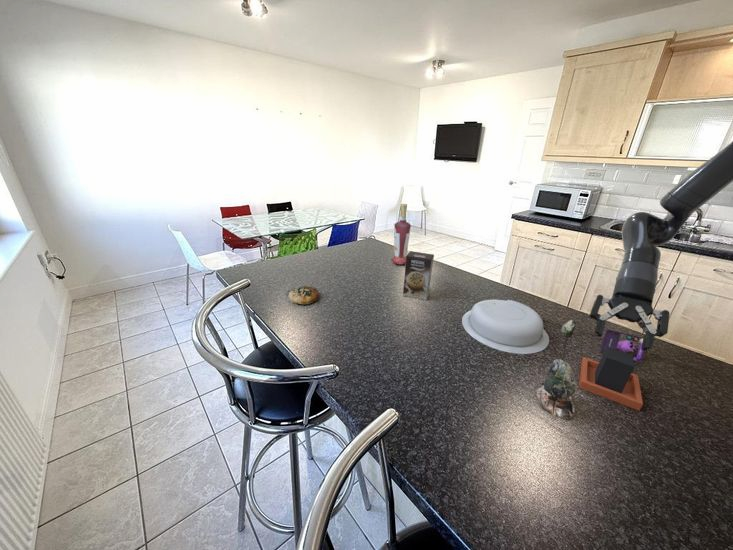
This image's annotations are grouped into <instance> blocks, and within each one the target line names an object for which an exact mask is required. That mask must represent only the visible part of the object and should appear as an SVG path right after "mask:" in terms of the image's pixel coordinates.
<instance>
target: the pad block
mask: <svg viewBox="0 0 733 550" xmlns="http://www.w3.org/2000/svg"><path fill="white" fill-rule="evenodd" d="M598 362H599V364H598V367H597V369H596V371H595V384H597V385H599V386H602V387H605V388H607V389H610V390H613V391H616V392H618V393H622V391H623V389H624V387H625V385H626V383H627V381H628V379H629V377H630V375H631V373H632V374H633V372H634V369H635V366H636V365H635V361H634V355H633V354H631V353H629V352H622V351H619V350H618V349H616V350H615V349H612V348H609V347H606V348H605V350H604V353H602V355H601V356H600V360H599V361H598Z"/></svg>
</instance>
